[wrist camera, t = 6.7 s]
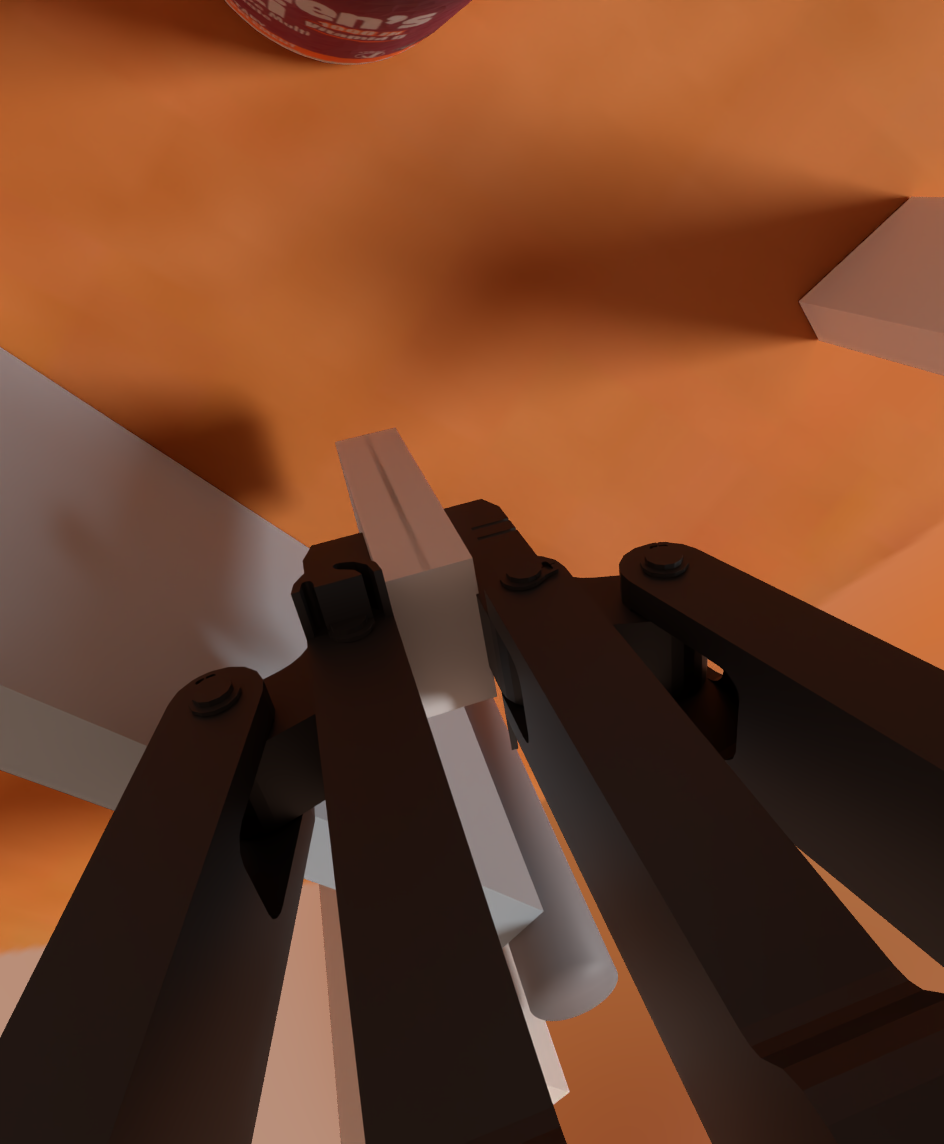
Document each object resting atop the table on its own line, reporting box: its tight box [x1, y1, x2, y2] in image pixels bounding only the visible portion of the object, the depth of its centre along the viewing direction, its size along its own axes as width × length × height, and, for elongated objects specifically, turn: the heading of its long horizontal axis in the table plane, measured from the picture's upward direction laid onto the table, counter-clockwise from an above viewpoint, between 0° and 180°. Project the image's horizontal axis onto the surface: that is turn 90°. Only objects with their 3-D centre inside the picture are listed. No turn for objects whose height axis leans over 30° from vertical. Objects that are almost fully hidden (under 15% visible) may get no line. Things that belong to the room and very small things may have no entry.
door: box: [0, 347, 618, 1021], centre depth 14 cm, size 15×3×11 cm, turn 46°
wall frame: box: [319, 197, 944, 1144], centre depth 16 cm, size 24×2×12 cm, turn 132°
